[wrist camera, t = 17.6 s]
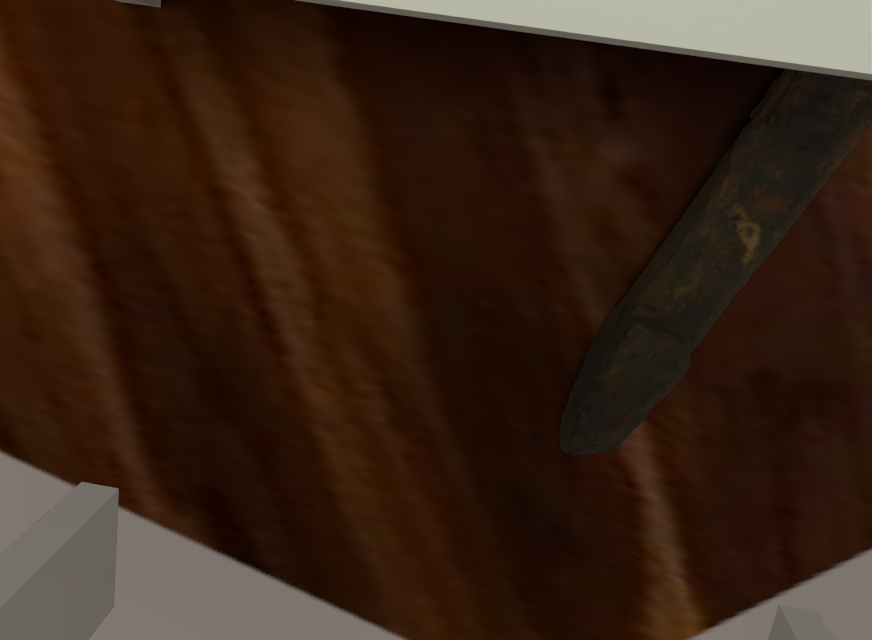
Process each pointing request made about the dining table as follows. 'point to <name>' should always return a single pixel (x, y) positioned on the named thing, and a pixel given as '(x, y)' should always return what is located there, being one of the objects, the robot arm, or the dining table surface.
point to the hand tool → (714, 252)
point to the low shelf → (674, 26)
